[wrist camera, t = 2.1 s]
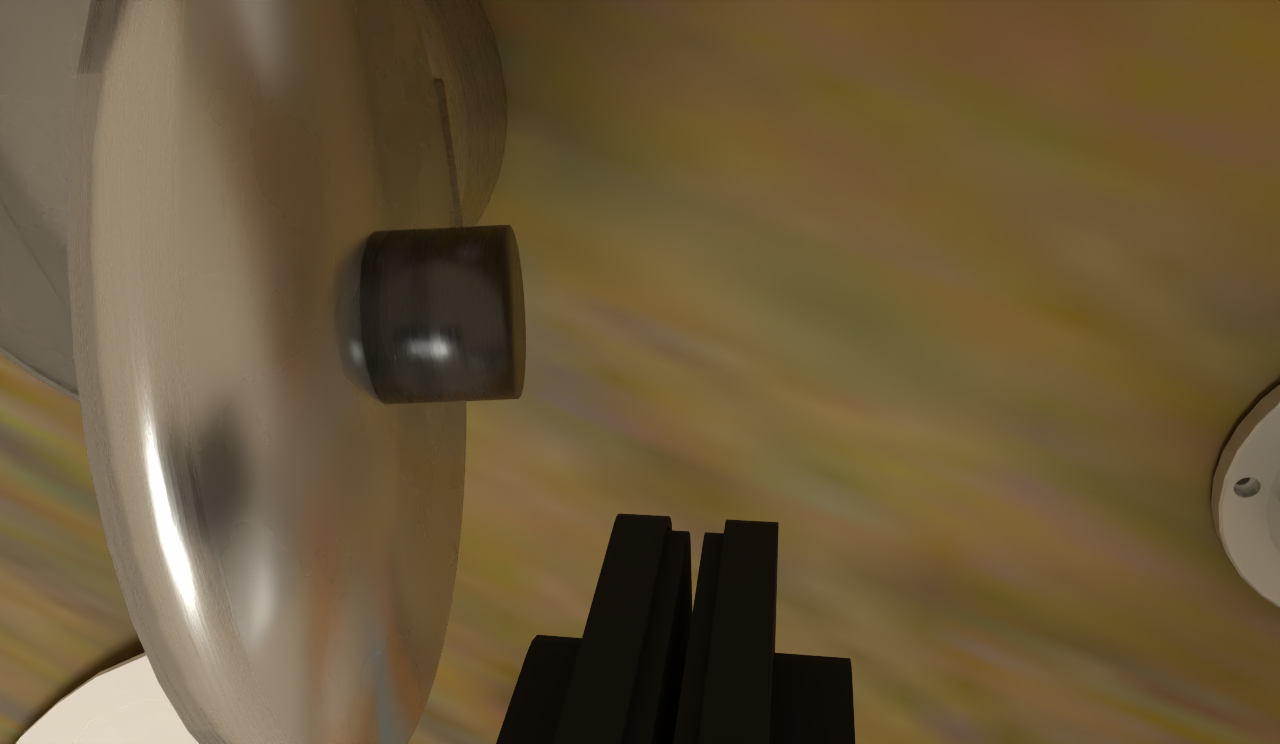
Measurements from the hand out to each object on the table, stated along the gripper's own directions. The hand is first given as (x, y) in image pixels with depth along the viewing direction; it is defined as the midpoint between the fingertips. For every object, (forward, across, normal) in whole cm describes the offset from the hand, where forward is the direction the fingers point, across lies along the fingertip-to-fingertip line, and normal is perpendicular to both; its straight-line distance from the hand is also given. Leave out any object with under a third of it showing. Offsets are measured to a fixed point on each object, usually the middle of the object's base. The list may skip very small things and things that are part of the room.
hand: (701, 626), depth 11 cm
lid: (+8, +8, 0) cm, 11 cm away
